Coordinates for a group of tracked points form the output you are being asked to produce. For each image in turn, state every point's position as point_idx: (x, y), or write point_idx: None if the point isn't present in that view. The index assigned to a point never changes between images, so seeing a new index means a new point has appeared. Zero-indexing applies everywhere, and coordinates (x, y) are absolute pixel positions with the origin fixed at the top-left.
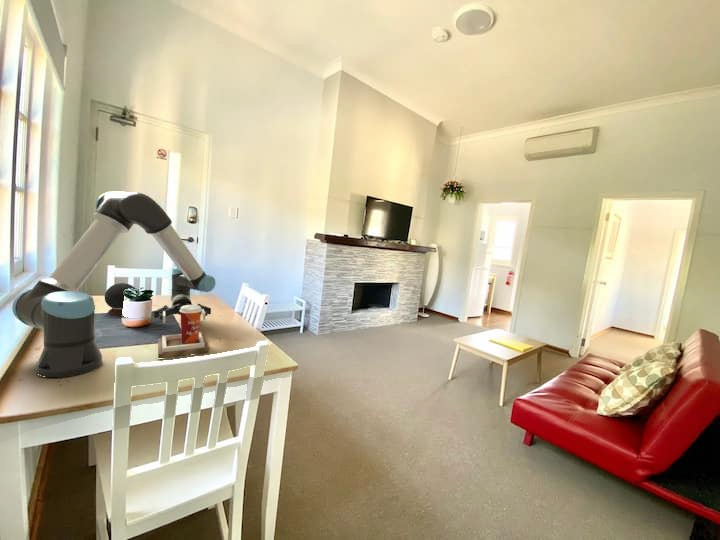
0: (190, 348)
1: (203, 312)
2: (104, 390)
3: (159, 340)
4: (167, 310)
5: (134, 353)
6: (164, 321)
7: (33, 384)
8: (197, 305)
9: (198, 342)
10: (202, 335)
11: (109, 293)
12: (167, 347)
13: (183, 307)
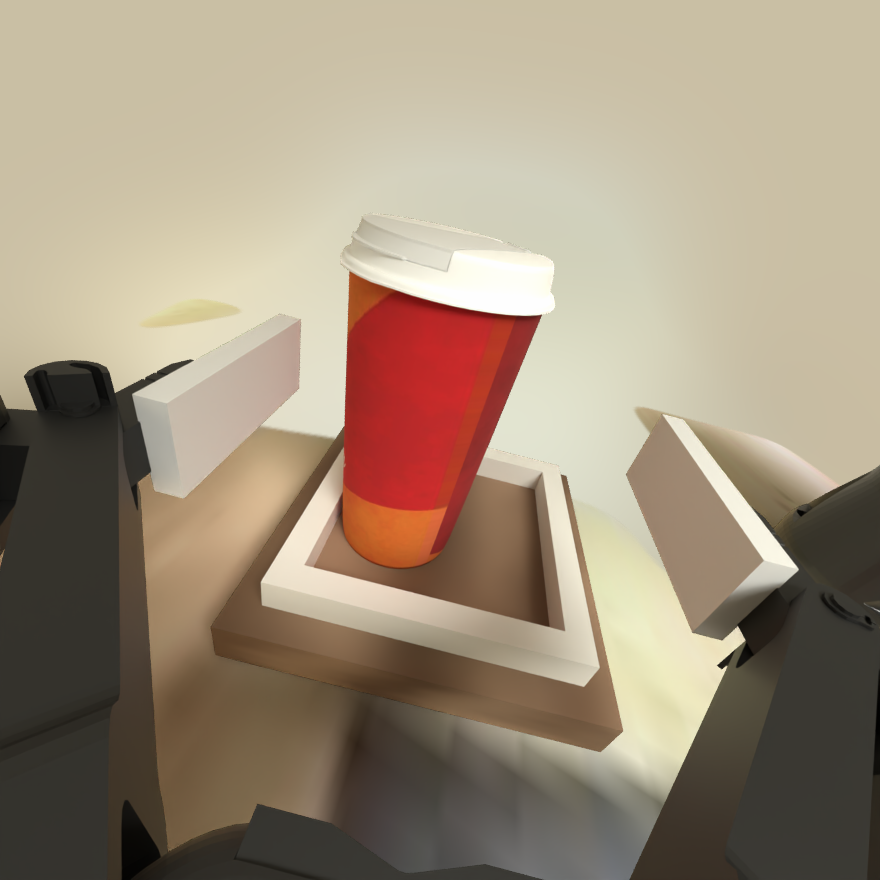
0: None
1: (275, 329)
2: (650, 425)
3: (600, 671)
4: (777, 660)
5: None
6: (640, 465)
7: None
8: (375, 224)
9: None
10: (245, 599)
11: None
12: (537, 461)
13: (530, 256)
